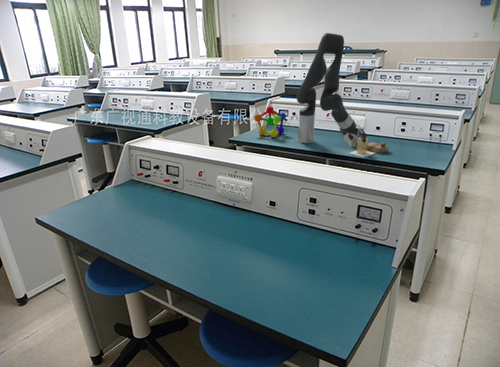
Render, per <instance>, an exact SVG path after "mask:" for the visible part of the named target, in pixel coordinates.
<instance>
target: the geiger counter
mask: <svg viewBox="0 0 500 367" xmlns="http://www.w3.org/2000/svg"><path fill="white" fill-rule="evenodd" d="M352 136H353V137H354V138H353V139H352V140H350V139H349V137H347V136H346V135H343V140H344V141H345V143H346V144H347V145H348V147H349V148H357V140H358V138H357V137H355V136H354V135H352Z"/></svg>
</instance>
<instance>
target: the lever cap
mask: <svg viewBox="0 0 500 367" xmlns="http://www.w3.org/2000/svg"><path fill="white" fill-rule="evenodd" d="M356 143H357V144H356V150H357V153H359V154H365V153H367V148H368V143H369V138H367V137H366V142H365V143H363V142H362V140H361V139H360V138H357V140H356Z"/></svg>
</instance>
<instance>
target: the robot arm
mask: <svg viewBox="0 0 500 367" xmlns="http://www.w3.org/2000/svg"><path fill="white" fill-rule="evenodd" d="M344 46H345V38H344V36H343V35H341V34H336V33H330V32H326V33H324V34H323V35H322V36H321V39H320V41H319V44H318V47H317V50H316V52H315V53H316V54H315V56H314V58H313V60H312V62H311V64H310V66H309V69H308V71H307V73H306V76H305V78H304V79H303V82H302V84H301V85H300V87H299V89H298V90H297V93H296V102H297V103H298V104H300V105H304V104H306V105H305V106H304V107H303V108H301V109H299V126H298V127H297V128H298V129H297V130H298V132H297V138H298V140H297V141H298V142H299V143H301V144H311V143H314V142H315V112H316V105H317V104H316V102H317V92H316V89H315V88H314V87H315V86H317V85H319V84H320V83H321V82H322V81H323V79H324V85H323V90H322V93H321V96H320V99H319V107H320V109H321V110H322V111H325V112H328V111H331V113H330V115H331V117H332V118H333V119H334V121H335V123H336V124H337V125H338V127H339V131H340V132H341V134H342V135H343V136H344V135H346V136H347V137H349V139H350V140H352V139H353V138H354V137H353V136H352V135H354V136H355V137H357V139H359V138H360V139H361V140H362V142H363V143H365V142H366V138H367V137H368V135H367V133H366V132H365V131H364V129H362V128H360V129H358V128H357V123H356V121H355V120H354V119H353V118H352V116H351V115H350V114H349V113H348V112H347V110H346V109H345V105H344V102H343V99H342V98H343V97H342V96H341V95H340V94H338V93H336V92H338V91H339V89H340V88H339V87H340V71H341V64H342V59H343V52H344V49H345V48H344ZM325 54H330V55H331V54H332V55H334V59H333V61H332V62H331V64H330V65H329V67H328V66H327V64H326V61H325V58H324V57H325V56H324V55H325Z"/></svg>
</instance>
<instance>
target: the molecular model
mask: <svg viewBox="0 0 500 367" xmlns="http://www.w3.org/2000/svg"><path fill="white" fill-rule="evenodd" d="M267 114H268V117H267V118H264V117H263V116H265V115H267ZM286 118H287V114H286V113H285V112H277V111H275V110H274V108H273V106H271V105H270V106H267V107H266V108H265V111H264V112H262V113H261V114H259V113H257V114H254V116H253V119H254V121H255V122H257V124H258V127H259V130H258V134H259V136H264V135H270V137H271V138H276V137H277V136H278V134H279V135H282V134H284V132H285V128H284V127H283V126H284V125H283V123H284V120H287V119H286ZM261 121H263V122H264V121H265V122H266V123H265V125H264V127H263V126H262V124H261ZM278 123H280V125H279V126H278ZM269 125H272V126H273V129H272V130H270V131H266V129H267V128H268V127H269Z"/></svg>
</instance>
